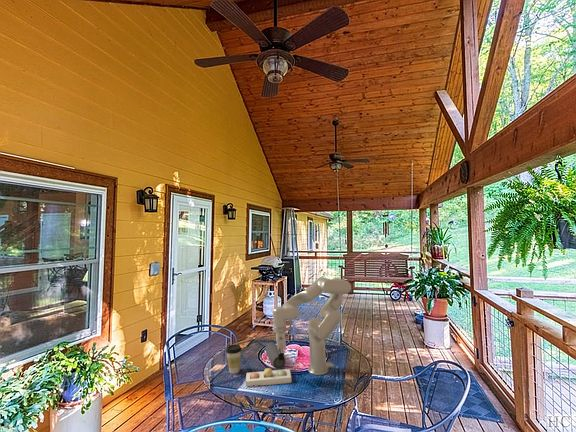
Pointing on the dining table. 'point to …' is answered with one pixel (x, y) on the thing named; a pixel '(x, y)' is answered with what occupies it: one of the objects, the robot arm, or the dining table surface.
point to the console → (268, 378)
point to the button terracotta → (254, 375)
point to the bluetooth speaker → (274, 356)
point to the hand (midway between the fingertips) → (281, 359)
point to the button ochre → (268, 372)
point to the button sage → (282, 373)
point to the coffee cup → (234, 358)
